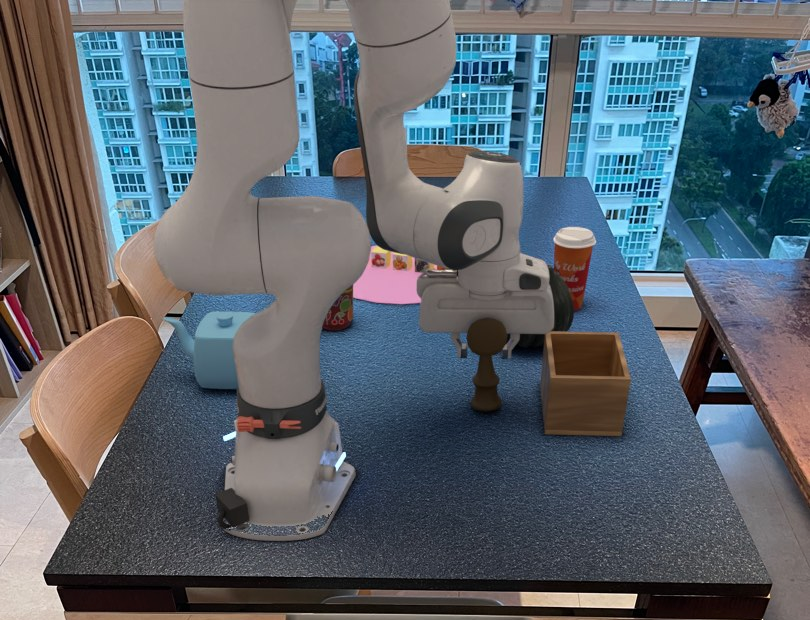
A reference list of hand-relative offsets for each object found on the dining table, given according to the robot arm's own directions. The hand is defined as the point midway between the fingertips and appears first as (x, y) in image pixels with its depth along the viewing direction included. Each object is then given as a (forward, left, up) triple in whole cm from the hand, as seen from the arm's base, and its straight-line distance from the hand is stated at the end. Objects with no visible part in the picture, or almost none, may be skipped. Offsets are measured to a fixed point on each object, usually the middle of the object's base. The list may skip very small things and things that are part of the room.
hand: (484, 357), depth 136 cm
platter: (+54, +17, -9) cm, 57 cm away
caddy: (0, -15, -9) cm, 18 cm away
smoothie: (+29, +28, -9) cm, 41 cm away
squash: (+24, -8, -9) cm, 27 cm away
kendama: (0, -1, -9) cm, 9 cm away
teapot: (+8, +44, -9) cm, 45 cm away
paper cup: (+39, -16, -9) cm, 43 cm away
